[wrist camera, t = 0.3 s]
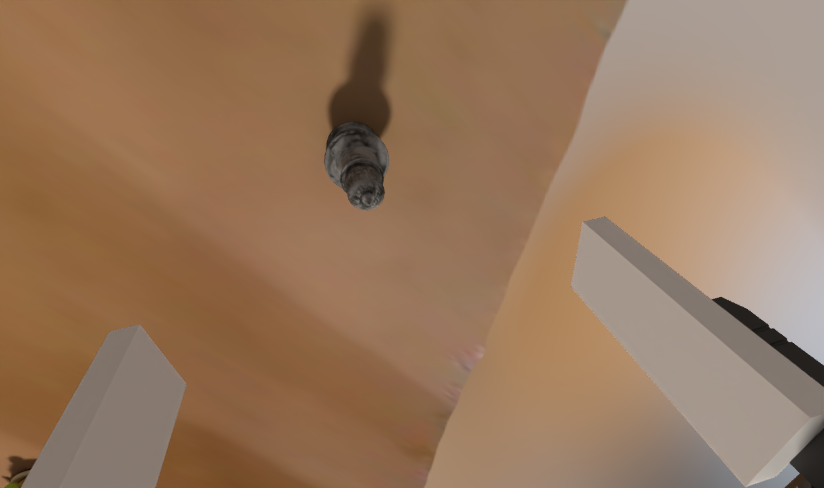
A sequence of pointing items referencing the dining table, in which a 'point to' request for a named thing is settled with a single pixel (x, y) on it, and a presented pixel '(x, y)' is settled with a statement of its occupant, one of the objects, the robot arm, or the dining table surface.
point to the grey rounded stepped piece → (357, 164)
